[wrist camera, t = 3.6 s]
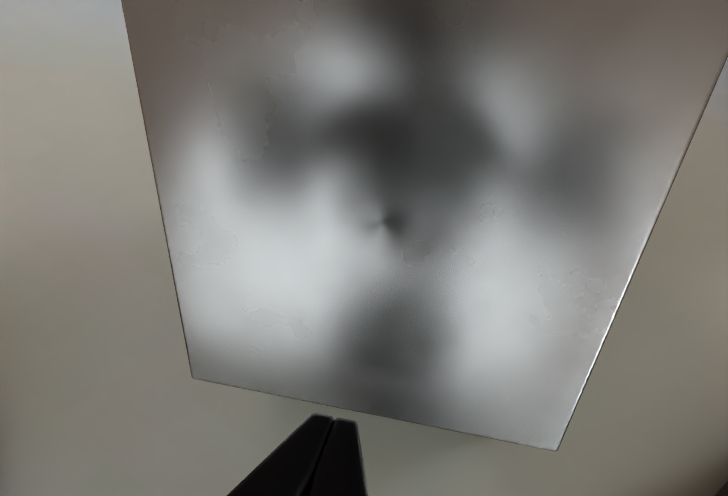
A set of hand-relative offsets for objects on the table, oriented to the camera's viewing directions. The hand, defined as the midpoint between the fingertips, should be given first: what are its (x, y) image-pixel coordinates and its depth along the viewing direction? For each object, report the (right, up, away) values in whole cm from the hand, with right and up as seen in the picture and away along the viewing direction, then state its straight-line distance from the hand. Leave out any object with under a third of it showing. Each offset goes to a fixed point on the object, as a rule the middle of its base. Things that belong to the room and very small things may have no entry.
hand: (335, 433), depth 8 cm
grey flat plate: (+1, +4, +3) cm, 5 cm away
